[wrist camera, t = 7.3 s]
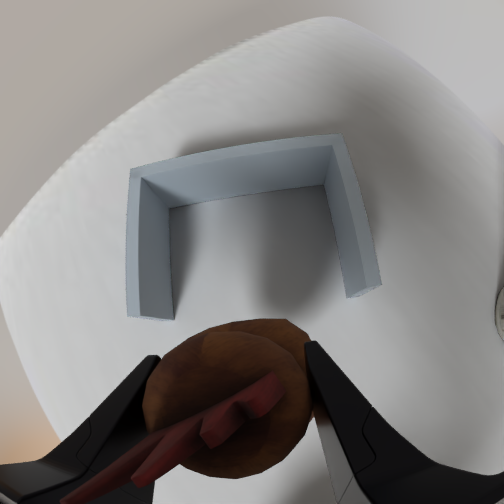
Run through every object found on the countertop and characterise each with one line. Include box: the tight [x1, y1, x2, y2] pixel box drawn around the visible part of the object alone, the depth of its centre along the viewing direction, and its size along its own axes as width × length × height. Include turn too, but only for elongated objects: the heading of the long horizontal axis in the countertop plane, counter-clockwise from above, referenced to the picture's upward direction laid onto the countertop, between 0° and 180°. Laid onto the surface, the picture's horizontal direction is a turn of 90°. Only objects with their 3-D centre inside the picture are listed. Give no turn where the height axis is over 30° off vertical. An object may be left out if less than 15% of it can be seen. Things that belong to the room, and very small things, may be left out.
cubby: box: [126, 133, 382, 321], centre depth 21 cm, size 11×16×6 cm
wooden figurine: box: [60, 319, 314, 504], centre depth 10 cm, size 7×6×15 cm
